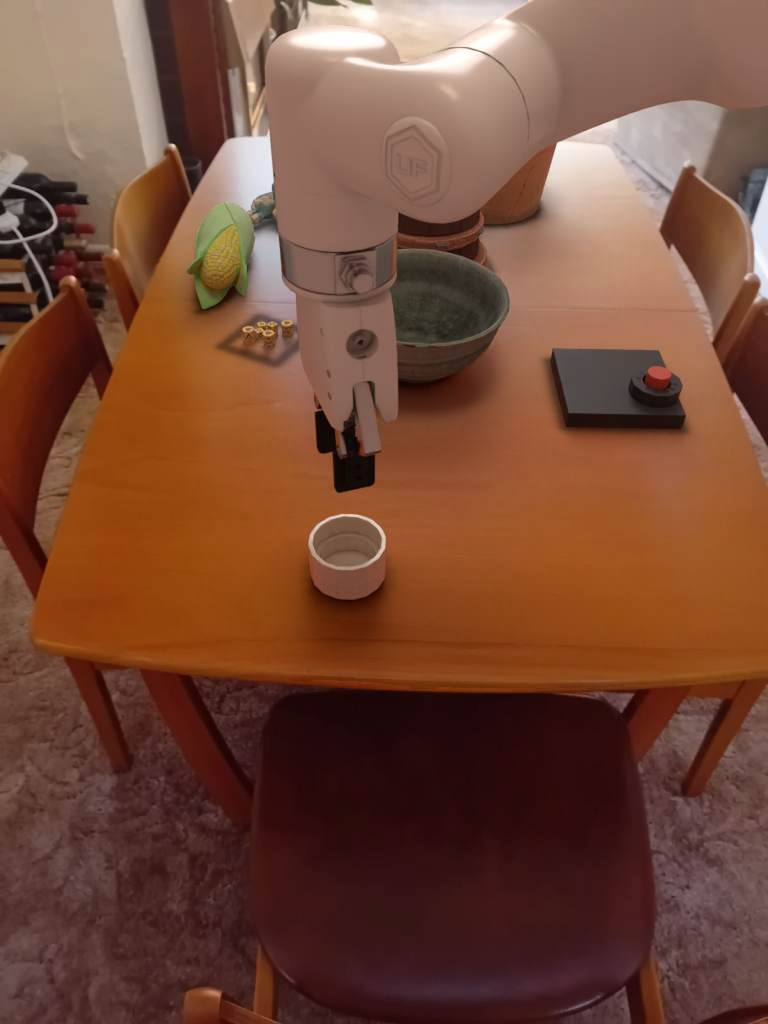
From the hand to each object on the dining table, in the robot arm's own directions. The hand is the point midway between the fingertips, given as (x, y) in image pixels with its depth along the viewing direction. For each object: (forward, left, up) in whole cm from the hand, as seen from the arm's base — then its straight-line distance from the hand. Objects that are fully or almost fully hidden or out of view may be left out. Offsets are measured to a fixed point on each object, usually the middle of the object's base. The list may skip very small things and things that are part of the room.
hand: (345, 465), depth 63 cm
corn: (0, -59, -14) cm, 61 cm away
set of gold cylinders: (-2, -41, -14) cm, 43 cm away
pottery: (-46, -70, -14) cm, 85 cm away
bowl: (-18, -30, -14) cm, 38 cm away
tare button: (-41, -13, -10) cm, 44 cm away
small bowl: (0, 0, -13) cm, 13 cm away
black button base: (-38, -17, -13) cm, 44 cm away
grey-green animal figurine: (-12, -75, -14) cm, 77 cm away
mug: (-26, -53, -14) cm, 61 cm away
